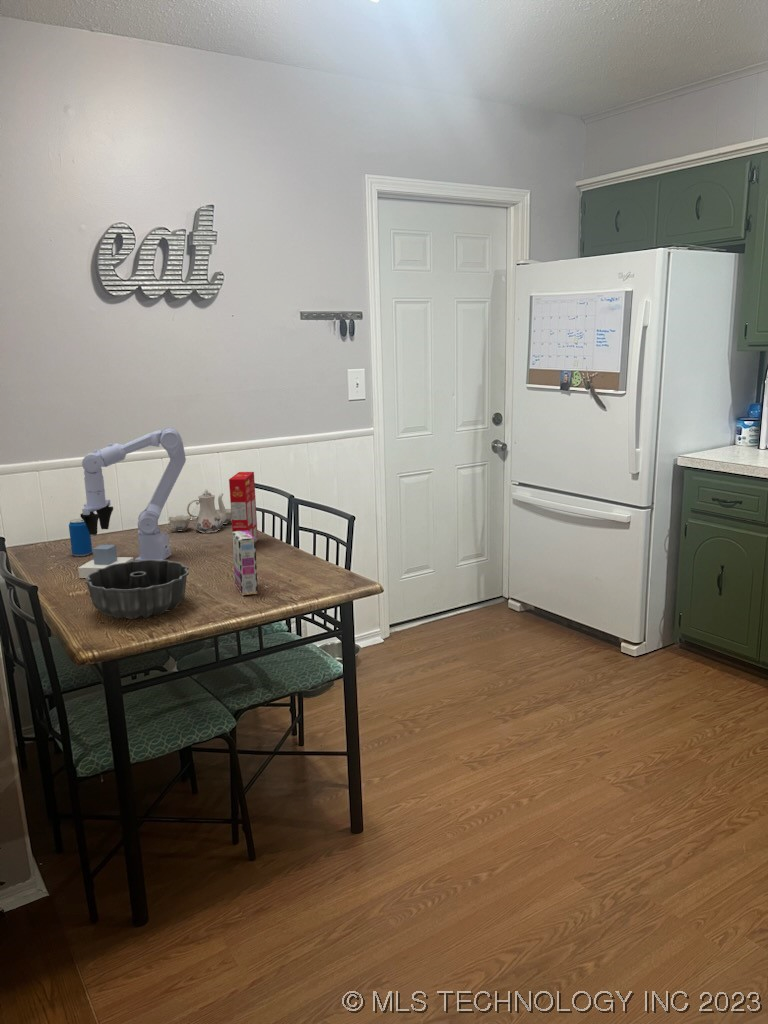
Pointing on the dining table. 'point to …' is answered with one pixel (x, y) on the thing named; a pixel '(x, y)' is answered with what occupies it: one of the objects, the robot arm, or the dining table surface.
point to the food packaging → (243, 503)
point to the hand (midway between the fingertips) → (99, 531)
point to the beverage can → (80, 538)
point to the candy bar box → (245, 561)
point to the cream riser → (98, 566)
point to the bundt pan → (138, 588)
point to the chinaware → (204, 515)
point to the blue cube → (104, 554)
